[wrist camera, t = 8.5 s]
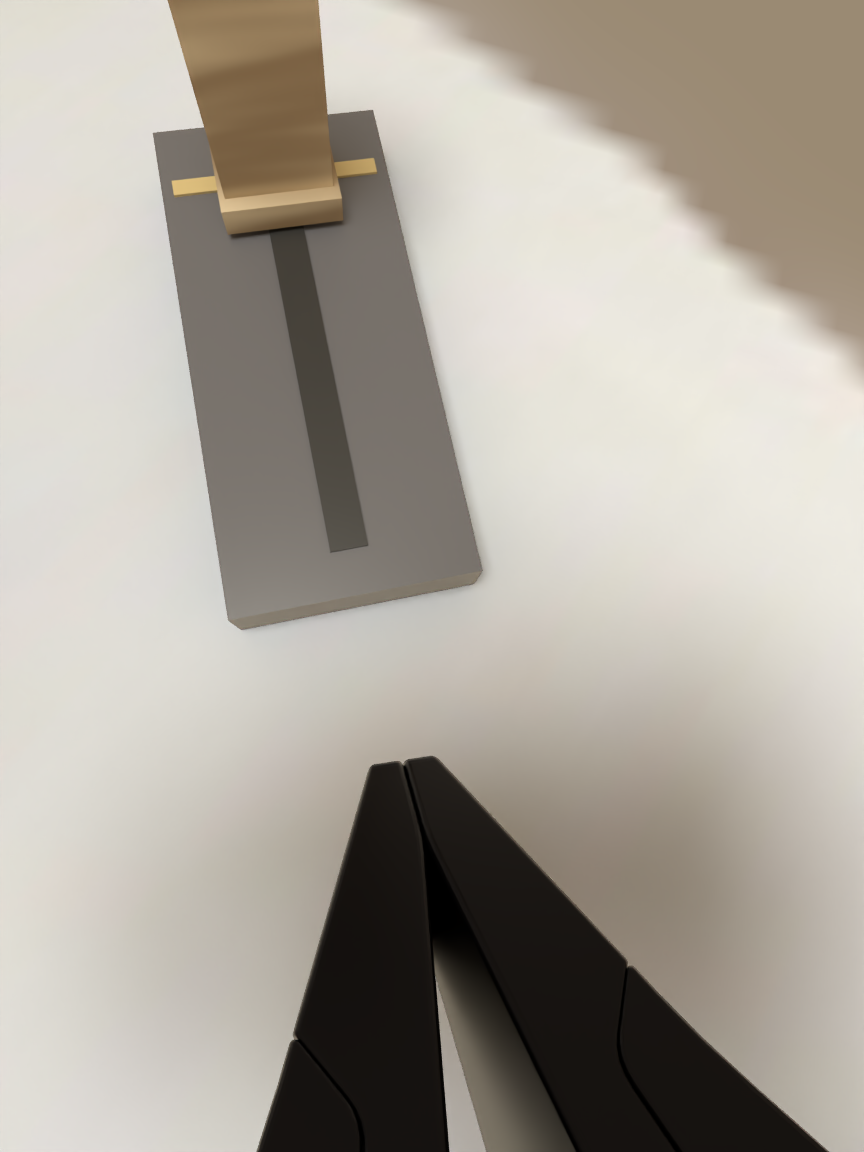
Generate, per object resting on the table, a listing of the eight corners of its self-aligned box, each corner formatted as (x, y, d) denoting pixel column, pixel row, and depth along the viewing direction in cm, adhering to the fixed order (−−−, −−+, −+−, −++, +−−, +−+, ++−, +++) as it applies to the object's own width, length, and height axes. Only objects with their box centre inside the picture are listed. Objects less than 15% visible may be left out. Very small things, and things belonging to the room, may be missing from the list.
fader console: (473, 583, 23) (482, 570, 21) (241, 629, 22) (227, 619, 20) (373, 154, 27) (372, 107, 25) (170, 178, 26) (151, 130, 24)
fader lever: (351, 219, 23) (328, -251, 12) (218, 235, 23) (65, -242, 12) (336, 148, 24) (300, -362, 13) (206, 162, 23) (48, -357, 12)
